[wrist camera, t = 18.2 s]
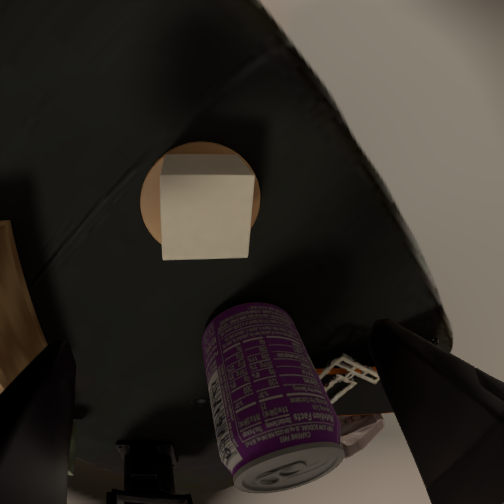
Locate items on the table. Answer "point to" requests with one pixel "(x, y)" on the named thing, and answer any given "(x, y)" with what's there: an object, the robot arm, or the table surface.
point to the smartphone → (357, 394)
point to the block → (205, 206)
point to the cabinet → (15, 313)
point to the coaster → (152, 184)
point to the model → (347, 374)
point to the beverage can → (268, 401)
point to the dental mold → (359, 431)
